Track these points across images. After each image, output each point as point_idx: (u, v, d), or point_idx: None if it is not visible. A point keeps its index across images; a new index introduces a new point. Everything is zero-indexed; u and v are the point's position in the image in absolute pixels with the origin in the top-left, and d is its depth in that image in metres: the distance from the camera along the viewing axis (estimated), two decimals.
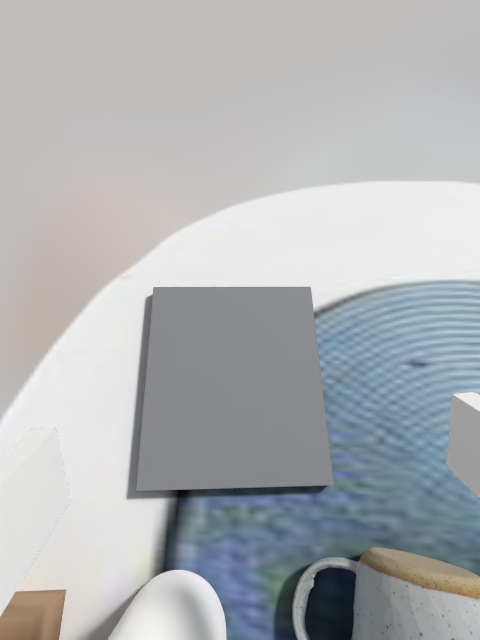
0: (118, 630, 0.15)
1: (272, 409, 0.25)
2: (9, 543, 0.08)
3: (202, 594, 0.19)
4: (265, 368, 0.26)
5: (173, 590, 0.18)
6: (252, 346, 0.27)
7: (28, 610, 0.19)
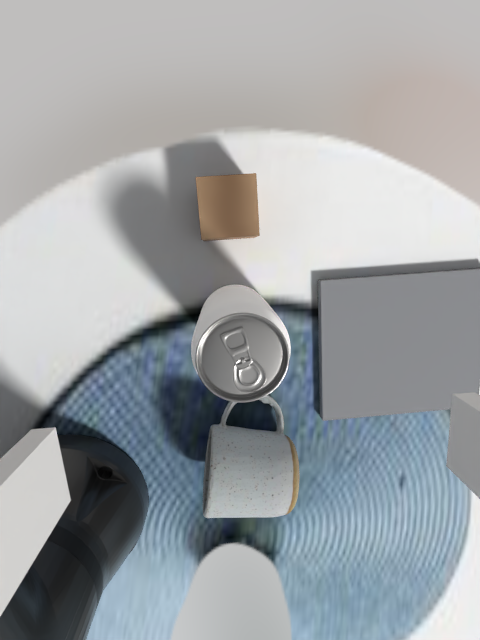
0: None
1: (376, 377, 0.32)
2: (9, 543, 0.08)
3: None
4: (408, 371, 0.32)
5: None
6: (427, 360, 0.32)
7: None
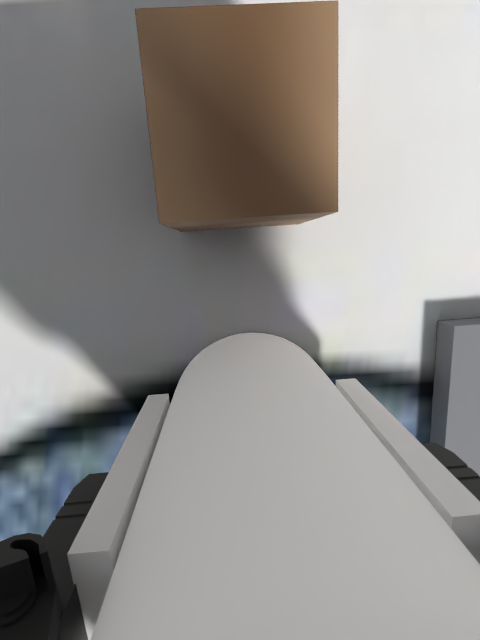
0: (397, 462, 0.07)
1: None
2: None
3: None
4: None
5: None
6: None
7: None
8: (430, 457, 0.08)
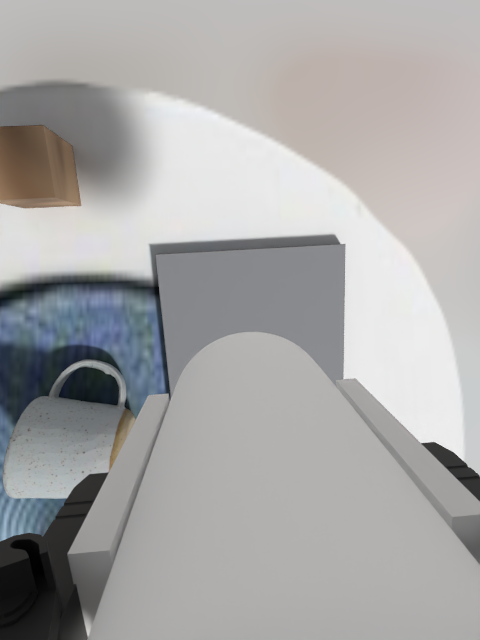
0: (396, 461, 0.07)
1: None
2: None
3: None
4: None
5: None
6: None
7: (63, 189, 0.24)
8: (430, 458, 0.08)
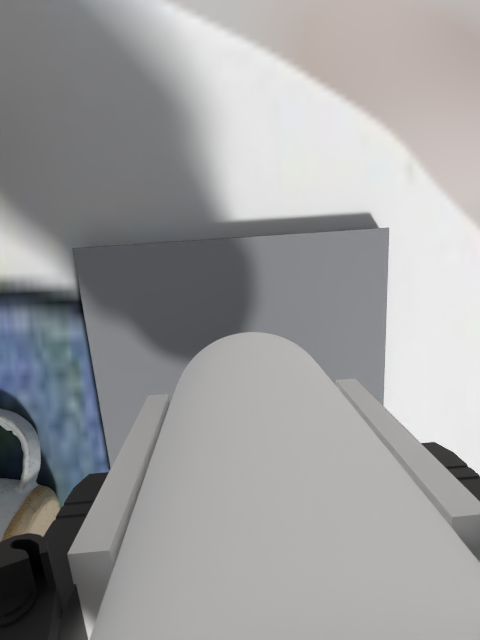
0: None
1: None
2: None
3: None
4: None
5: None
6: None
7: None
8: (430, 457, 0.08)
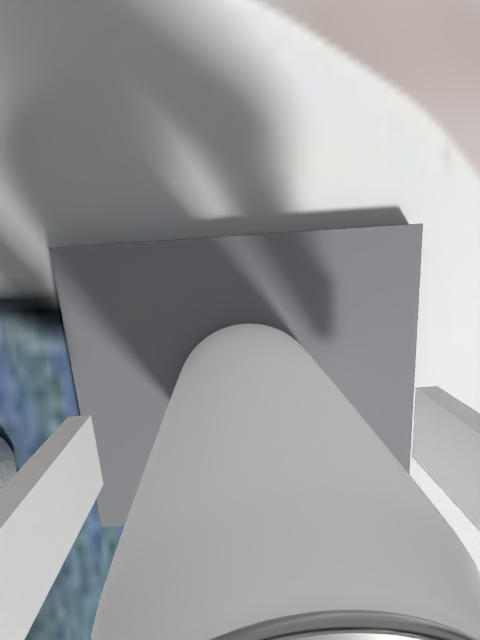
0: None
1: None
2: (57, 518, 0.09)
3: None
4: None
5: None
6: None
7: None
8: None
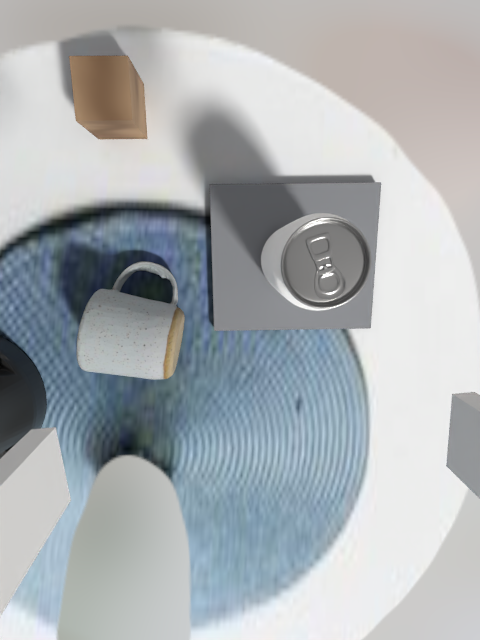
0: None
1: (266, 289, 0.32)
2: (9, 543, 0.08)
3: None
4: None
5: None
6: None
7: (137, 117, 0.27)
8: None
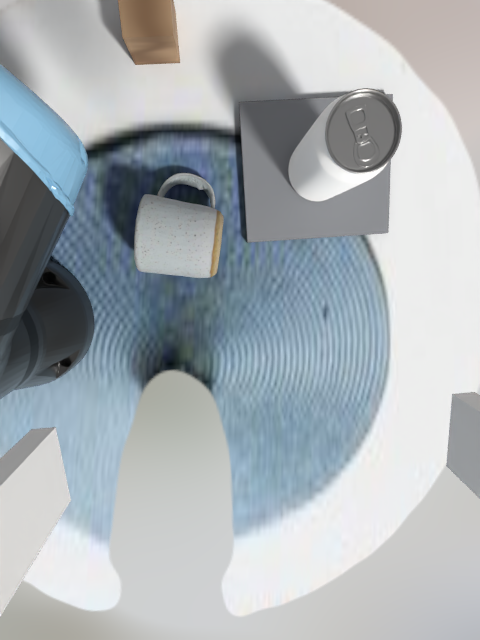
0: None
1: (294, 200, 0.36)
2: (9, 543, 0.08)
3: None
4: None
5: None
6: None
7: (175, 36, 0.30)
8: None
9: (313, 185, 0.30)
